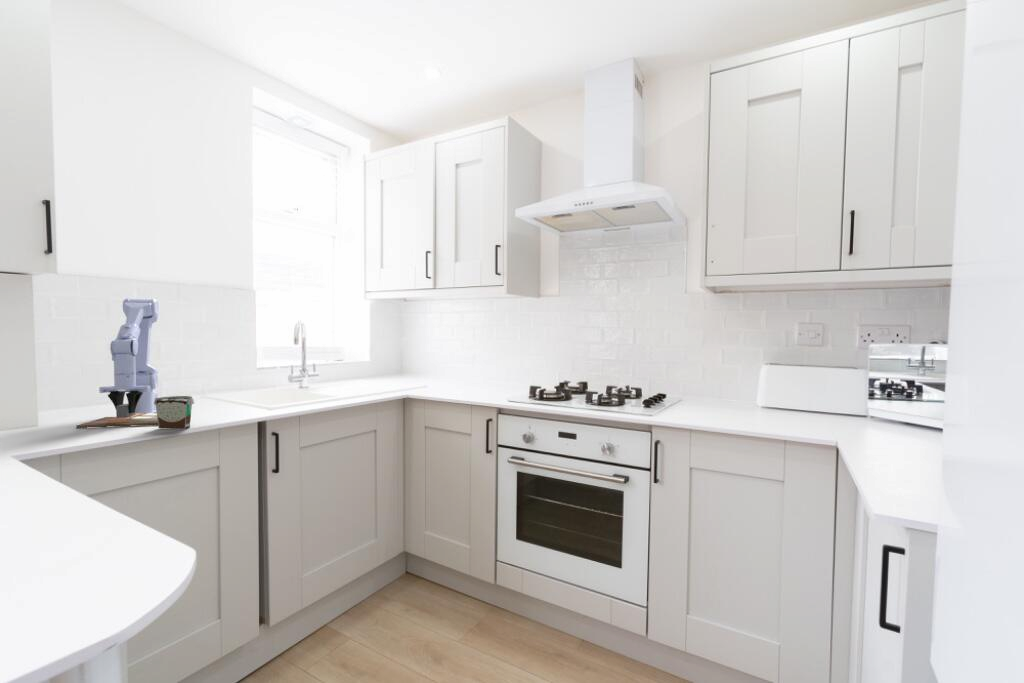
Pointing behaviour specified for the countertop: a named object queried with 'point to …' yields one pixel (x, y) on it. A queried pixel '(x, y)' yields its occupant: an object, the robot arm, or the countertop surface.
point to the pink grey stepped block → (122, 414)
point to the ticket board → (137, 420)
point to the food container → (174, 411)
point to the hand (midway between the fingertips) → (126, 413)
